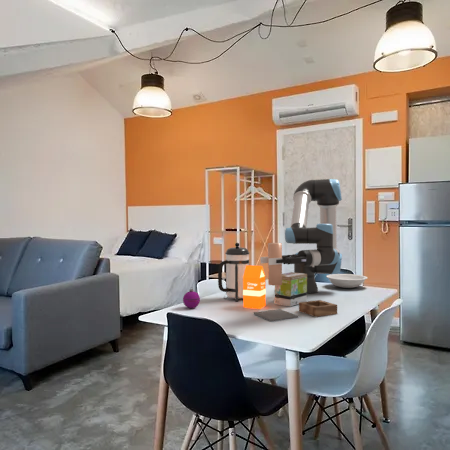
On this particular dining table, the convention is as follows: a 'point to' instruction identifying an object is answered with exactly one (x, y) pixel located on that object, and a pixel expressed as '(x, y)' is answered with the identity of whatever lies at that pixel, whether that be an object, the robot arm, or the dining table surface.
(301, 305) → the pocket
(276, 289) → the tea box
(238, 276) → the coffee press
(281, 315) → the mat
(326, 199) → the robot arm
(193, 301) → the christmas ornament
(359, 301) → the dining table surface
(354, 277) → the soup bowl
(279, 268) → the tall peach cylinder
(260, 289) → the orange juice
